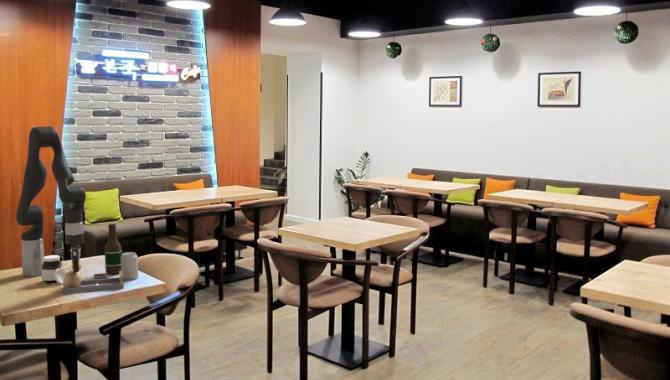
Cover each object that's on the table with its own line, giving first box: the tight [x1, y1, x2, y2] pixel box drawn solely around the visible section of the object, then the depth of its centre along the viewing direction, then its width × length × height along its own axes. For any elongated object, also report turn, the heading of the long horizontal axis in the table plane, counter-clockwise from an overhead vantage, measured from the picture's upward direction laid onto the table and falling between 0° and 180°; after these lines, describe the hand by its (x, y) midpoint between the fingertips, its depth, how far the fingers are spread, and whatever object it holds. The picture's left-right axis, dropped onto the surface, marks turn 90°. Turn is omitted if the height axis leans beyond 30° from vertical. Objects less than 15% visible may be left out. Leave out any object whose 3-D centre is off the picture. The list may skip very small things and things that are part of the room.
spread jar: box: [41, 254, 68, 285], centre depth 285 cm, size 12×11×12 cm
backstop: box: [118, 270, 125, 290], centre depth 280 cm, size 2×11×6 cm, turn 19°
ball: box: [71, 262, 82, 271], centre depth 274 cm, size 4×4×4 cm
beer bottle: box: [104, 223, 123, 276], centre depth 300 cm, size 8×8×24 cm
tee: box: [92, 272, 108, 280], centre depth 286 cm, size 6×6×3 cm
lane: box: [61, 277, 121, 295], centre depth 277 cm, size 23×11×2 cm, turn 109°
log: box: [62, 269, 82, 288], centre depth 274 cm, size 7×8×7 cm
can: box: [121, 251, 139, 281], centre depth 292 cm, size 8×8×12 cm
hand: (76, 270), depth 274 cm, fingers closed on ball, 4 cm apart
